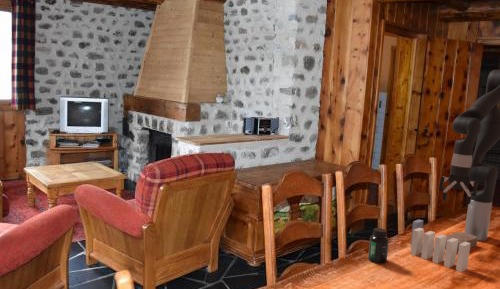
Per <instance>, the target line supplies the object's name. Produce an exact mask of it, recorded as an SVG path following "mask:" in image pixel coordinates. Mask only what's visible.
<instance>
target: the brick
mask: <svg viewBox="0 0 500 289" xmlns="http://www.w3.org/2000/svg"><path fill="white" fill-rule="evenodd" d="M444 235H445V234H444ZM445 236H447V237H446V244H447V240H449V239H452V238H455V239H458V246H457V253H458V250H459V244H461V243H463V242H468V243H471V244H470V249H474V248H475V247H476V246H477V245H478V241H479V240H478V238H477V237H476V236H473V235H470V234H466V233H465V232H462V231H456V232H453V233H452V234H446V235H445ZM445 251H446V245H445Z"/></svg>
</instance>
